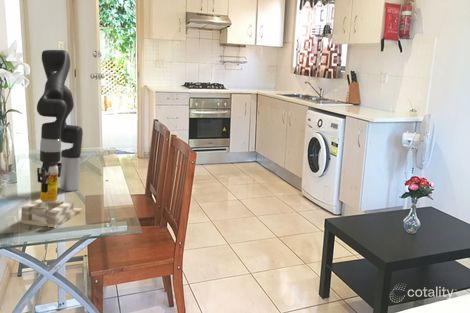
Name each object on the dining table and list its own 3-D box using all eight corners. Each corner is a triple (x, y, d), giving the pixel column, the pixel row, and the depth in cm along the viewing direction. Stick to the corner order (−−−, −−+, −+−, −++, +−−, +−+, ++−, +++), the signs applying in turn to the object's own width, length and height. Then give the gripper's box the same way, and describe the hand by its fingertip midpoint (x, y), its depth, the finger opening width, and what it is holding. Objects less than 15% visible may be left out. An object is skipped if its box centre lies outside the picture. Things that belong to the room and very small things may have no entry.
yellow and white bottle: (50, 204, 161) (51, 167, 158) (36, 201, 162) (38, 165, 159) (59, 200, 167) (61, 164, 164) (46, 197, 168) (48, 162, 165)
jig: (52, 207, 181) (52, 193, 180) (82, 211, 180) (82, 197, 178) (21, 223, 159) (21, 207, 158) (54, 228, 158) (55, 212, 157)
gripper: (51, 145, 168) (50, 184, 171) (30, 150, 154) (29, 193, 157) (68, 148, 167) (67, 187, 170) (49, 153, 153) (47, 196, 156)
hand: (49, 190), depth 163 cm, fingers closed on yellow and white bottle, 6 cm apart
